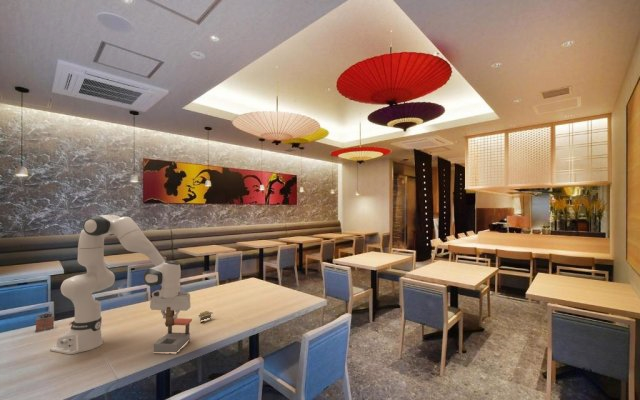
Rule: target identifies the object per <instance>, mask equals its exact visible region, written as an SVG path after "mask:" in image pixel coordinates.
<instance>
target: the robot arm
mask: <svg viewBox="0 0 640 400" xmlns="http://www.w3.org/2000/svg"><path fill="white" fill-rule="evenodd" d="M113 235H115V236H116V237H117V240H118V241H119V243H120V244H121V246H122V247H123V248H124V249H125V250H126V251H128V252H132V253H136V254H137V253H139V254H141V255H144V256H146V258H148V259H149V260H150V261H151V263H152V264H153V265H154V266H153V267H150V268H148V269H146V270H145V271H144V273H143V277H142V278H143V282H144V283H145V285H146V286H149V287H156V286H161V288H159V289H157V290H155V291H153V292H152V293H151V296H152V297H151V298H150V302H149V303H150V305H149V307H150V310H151V311H160V313H161V315H162V319H166V310H167V307H171V310H175V313H174V315H173V319H176V318H178V315H179V313H180V312H181V311H184V312H185V311H186V312H187V311H188V310H189V309H190V308H191V294H190V293H189V292H187V291H186V292H185V291H181V272H182V271H181V269H182V268H181V265H180V263H179V262H178V261H177V260H167V259H166V258H165V257H164V255H163V253H161V251H160V250H159V249H158V248H157V247H156V245H155V244H154V243H153V242H152V241H151V240H149V238H148V237H146V235H145V234H144V233H143V231H142V230H141V228H140V227H139V225H138V224H137V222H135V220H134V219H133V218H132V217H129V216H123V215H120V214H103V215H93V216H90V217H88V218H86V219H85V220H84V221H83V224H82V229H81V232H80V234H79V238H78V243H77V245H78V246H77V263H78V264H79V265H80V266H82V267H85V269H86V273H82V274H77V275H74V276H70V277H68V278H66V279H64V280H63V281H62V283H61V285H60V292H61V295H63V296H64V298H67V299H69V300H70V301H71V302H72V304H73V306H74V320H73V321H70V322H69V323H68V324H69V326H70V328H68V329H67V330H66V331H65V332H63V333H62V334H60V335H59V336H58V338H57V340H56V341H57V342H56V344H54V345H53V346H52V347H50V349H49V351H50V352H54V353H60V354H66V355H75V354H78V353H81V352H86V351H90V350H93V349H96V348H98V347H100V346H102V344H104V340H103V337H102V330H101V328H102V303H101V301H100V300H98V299H94V298H93V297H94V296H93V293H98V292H99V291H103V290H106V289H108V288H110V287H112V286H113V285H114V283H115V280H116V275H115V274H114V273H113V271H112V270H110V269H109V268H108V267H107V265H106V264H105V258H104V257H105V254H104V253H105V251H104V250H105V239H106V238H107V236H113Z"/></svg>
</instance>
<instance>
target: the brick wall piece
mask: <svg viewBox="0 0 640 400" xmlns="http://www.w3.org/2000/svg"><path fill="white" fill-rule="evenodd" d="M54 321H55V315H53V312H45V313H39V314H38V315H37V318H35V333H41V332H46V331H50V330H53V329H55V327H54V326H55V325H54V323H55V322H54Z"/></svg>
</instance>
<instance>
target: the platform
mask: <svg viewBox="0 0 640 400" xmlns="http://www.w3.org/2000/svg"><path fill="white" fill-rule="evenodd" d="M213 314H214V312H212V311H209V310H206V311H202V312H200V313H199V314H198V315H197V316H198V318H199V320H200V321H201V320H204V319H207V318H210V317H211V318H212V315H213ZM200 321H199V322H200Z"/></svg>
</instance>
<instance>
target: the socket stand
mask: <svg viewBox="0 0 640 400" xmlns="http://www.w3.org/2000/svg"><path fill="white" fill-rule="evenodd" d="M191 322H193V318H185V317H184V318H181V317H179V318H178V317H177V318H176V319H174V325H173V326H185V331H184V332H175V331H174V332H173V326H171V327H167V333H166V334H165V335H163V336H162V337H161V338H160V339H158V340H157V341H155V342H154V343H153V351H152V352H177V351H178V350H179V349H180V348H181V347H182V346H183V345H184V344H185V343H186V342H187V341H188V340H191V339H190V338H191V336H190V335H191V333H190V323H191ZM164 326H166V321H165V322H164Z"/></svg>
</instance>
